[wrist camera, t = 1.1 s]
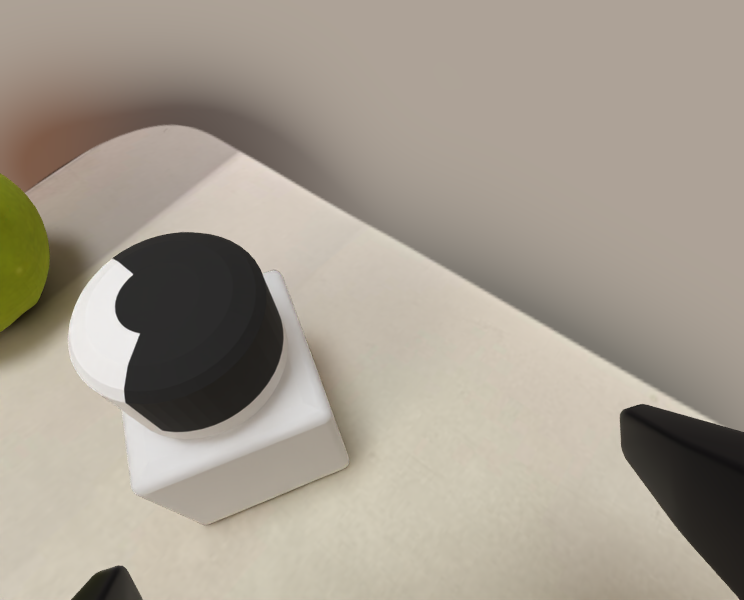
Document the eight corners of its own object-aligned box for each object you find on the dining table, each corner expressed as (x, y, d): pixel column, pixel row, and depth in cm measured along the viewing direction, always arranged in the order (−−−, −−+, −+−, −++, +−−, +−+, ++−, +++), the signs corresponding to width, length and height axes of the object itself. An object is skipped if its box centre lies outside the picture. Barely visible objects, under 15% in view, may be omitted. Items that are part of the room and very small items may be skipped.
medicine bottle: (307, 342, 27) (246, 179, 17) (352, 467, 24) (310, 354, 13) (176, 390, 26) (30, 247, 16) (203, 529, 22) (35, 457, 12)
